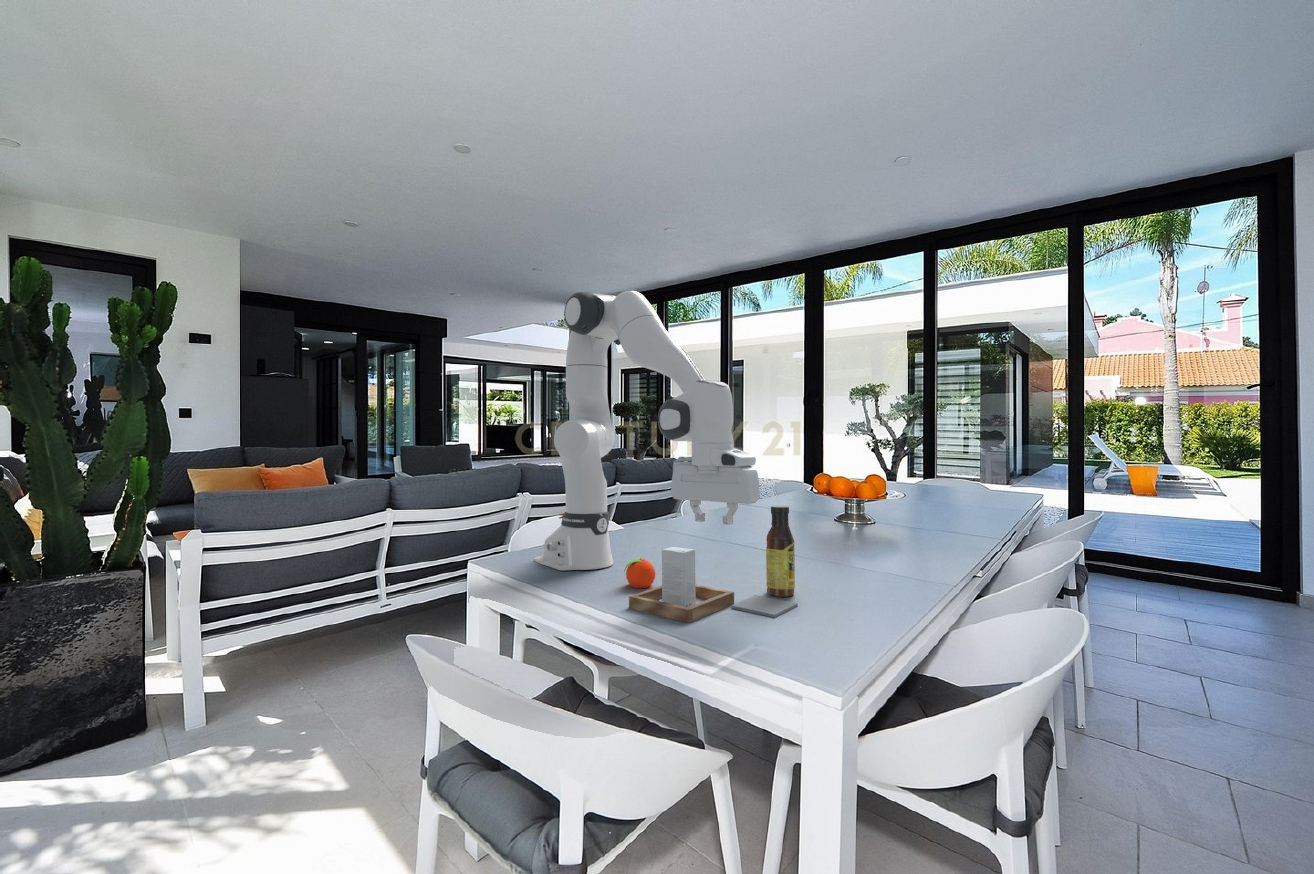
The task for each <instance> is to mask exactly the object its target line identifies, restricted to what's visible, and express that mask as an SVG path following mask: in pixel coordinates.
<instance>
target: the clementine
mask: <svg viewBox="0 0 1314 874" xmlns="http://www.w3.org/2000/svg"><path fill="white" fill-rule="evenodd" d="M625 571H626V572H625ZM623 572H625V577H626V578H625V579H626V580H627V582H628V585H630V586H631V587H632V588H634V589H647V588H649V587H650V586H651V585H653V583H654V582H655V578H656V569H655V566H654V565H653V564H652V563H651V562H650V560H647V559H643V558H639V559H634V560H631V561H630V562H628V563H627V565H625V568H624V571H623Z"/></svg>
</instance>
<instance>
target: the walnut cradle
mask: <svg viewBox="0 0 1314 874" xmlns="http://www.w3.org/2000/svg"><path fill="white" fill-rule="evenodd" d="M695 587H696V596H697V598H701V599H704V600H703V601H701V602H698V603H696V604H695V605H693V606H690V607H683V606H679V605H674V604H670V603H665V602H662V600H661V601H660V599H662V585H660V586H657V587H653V588H651V589H650V588H649V589H648V590H644V591H641V592H638V593H635V594H632V595H629V596H628V608H629V609H633V610H636V611H638V612H639V611H641V612H644V613H647V614H651V615H653V616H659V617H663V618H667V619H672V620H675V621H679V622H684V623H687V624H691V623H692V622H695V621H697V620H699V619H702V618H704V617H707V616H709V615H711V614H713V613H716V612H718V611H720V610H723V609H725V608H728V607H730V606H731V605H734V604H735V591H731V590H726V589H720V588H715V587H710V586H705V585H700V584H695Z"/></svg>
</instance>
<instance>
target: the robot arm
mask: <svg viewBox="0 0 1314 874" xmlns="http://www.w3.org/2000/svg"><path fill="white" fill-rule="evenodd" d="M563 315H564V316H563V317H564V322H565V324H566V326H567V328H568V329H569V330H570V331H571V332H570V333H569V337H568V342H567V349H566V357H565V397H566V400H567V402H568V404H569V407H570V408H569V409H570V413H571V419H570V420H567V421H565V422H564V423H562V424H560V425H559V426H558V427H557V429H556V430H555V433H554V436H553V444H554V448H555V450H556V452H557V453H558V454H559V458H560V462H561V467H562V470H563V471H562V472H563V476H564V484H565V485H564V486H565V512H564V513H560V514H558V516H559V517H558V519H559V520H560V519H561V523H560V526H559V527H558V528H557V529H556V530H554V531H553V533H551V534H550V535H549V536H548V537H546V539H545V540H544V544H543V550H542V551H543V553H542V555H541V554H540V555H539V556H536V557H535V558H534V562H535V563H538V564H541V565H544V566H547V567H550V568H551V569H555V570H558V571H574V570H575V571H579V570H580V571H583V570H585V571H586V570H589V571H590V570H597V569H603V568H604V569H605V568H608V567H611V566H613V565H614V560H613V554H612V550H611V543H610V542H611V541H610V534H609V533H610V532H609V529H608V528H609V524H610V512H609V511H608V481H607V479H606V477H605V474H604V470H603V465H602V458H604V457H605V456H606V455H608V453H609V452H611V450H612V449H613V448H614V445H615V443H616V436H615V431H614V430H613V426H612V419H611V413H610V407H609V399H608V350H609V347H610V345H611V344H612V343H614V344H615V345H617V346H620V345H621V348H622V349H623V351H624V353H625V355H626V356H627V357H628V358H629V359H630V360H631V362H632V363H634V364H635V365H637V366H639V367H641V368H645V369H648V370H649V371H650V370H651V371H654V372H657V373H659V374H661V375H664V376H666V377H668V378H669V379H671V380H672V381H674V383H676V385H678V387H679V389H680V390H681V392H682V393H681V394H679V395H677V396H675V397H673V398H669V399H667V400H665V401H664V402H663V404H662V405H661V406H660V408H659V411H658V413H657V425H658V429H659V431H660V433H661V435H662V436H663V437H664V438H666V439H667V440H669V441H673V442H687V443H688V442H690V443H691V444H690V445H691V456H678V457H677V458H676V459H675V460H674V461H673V464H672V477H671V485H670V487H671V489H670V495H671V497H672V498H673V499H674V500H685V501H689V506H690V508H691V510H692V512H693V513H694V521H695V522H697V523H702V522H703V523H704V522H705V521H706V513H705V512H702V509H701V508H700V505H701V504H702V503H701V502H714V503H715V502H716V503H725V504H726V508H727V509H728V510H727V512H726V515H722V524H723V525H725V526H726V525H727V526H731V525H733V524H734V516H735V513H736V512H737V510H738V509H739V504H742V505H750V504H751V505H752V504H755V503H757V502H758V500H759V498H760V481H759V474H758V471H757V469H756V467H754V465H756V462H757V461H756V460H757V458H756V456H755V455H754V454H752V453H749V452H745V451H743V450H741V449H738V448H736V447H734V444H735V443H734V437H733V434H732V433H733V432H732V430H733V424H734V404H733V395H732V392H731V388H730V386H729V385H728V384H727V383H725V382H723V381H719V380H709V379H706V378H705V377H704V375H703V374H702V373H701V371H700V369H699V368H698V366H697V365H696V364H695V363H694V361H693V359H692V358H691V357H690V356H689V354H688V353H687V352H686V351H685V350H684V349H683V348H682V347H680V345H679V344H678V343H677V342H676V340H674V338H673V337H672V336H671V334H670V333H669V332H668V330H667V329H666V327H665V326H664V324H663V323H662V320H661V318H660V317H659V315H658V313H657V312H656V309H655V308H654V307H653V305H652V304H651V303H650V302H649V300H648V299H647V298H646V297H645V295H643V294H642V293H640V292H639V291H637V290H626V291H622V292H621V293H618V295H612V294H602V293H593V292H589V291H581V292H580V291H578V292H575V293H573V294H572V295H571V296H569V298H568V299H567V301H566V303H565V305H564V311H563Z"/></svg>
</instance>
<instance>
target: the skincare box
mask: <svg viewBox="0 0 1314 874" xmlns="http://www.w3.org/2000/svg"><path fill="white" fill-rule="evenodd" d="M661 571H662V572H661V583H662V584H661V586H662V598H661V602H665V603H670V604H674V605H679V606H683V607H690V606H693V605H695V604H697V603H696V602H697V601H696V599H697V598H696V587H695V585H696V549H694V548H693V549H692V548H685V547H678V546H677V547H676V546H671V547H668V548H662V549H661Z"/></svg>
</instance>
